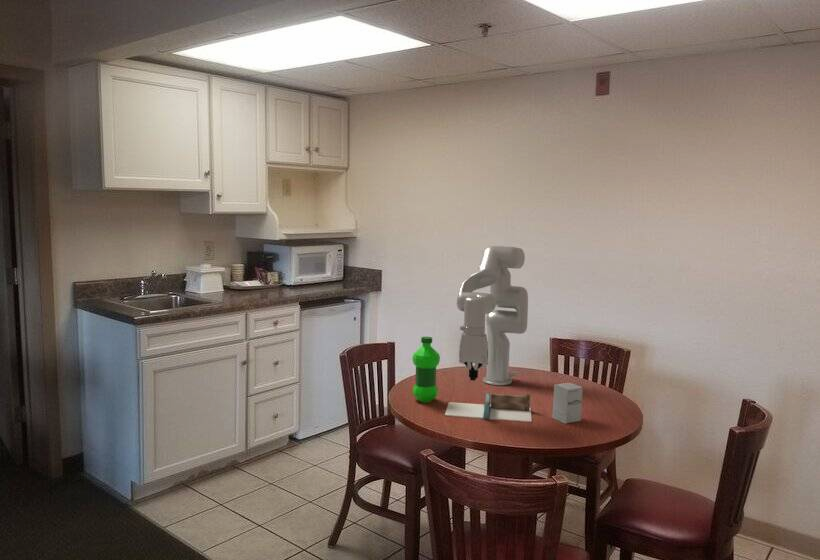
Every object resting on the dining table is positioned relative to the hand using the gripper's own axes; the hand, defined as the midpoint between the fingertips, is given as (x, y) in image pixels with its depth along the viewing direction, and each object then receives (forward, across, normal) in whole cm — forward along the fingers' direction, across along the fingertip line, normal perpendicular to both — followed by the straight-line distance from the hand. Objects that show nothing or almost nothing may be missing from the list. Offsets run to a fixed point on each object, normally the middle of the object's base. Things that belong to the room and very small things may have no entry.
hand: (473, 379), depth 224 cm
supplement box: (+13, +33, +6) cm, 36 cm away
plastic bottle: (+13, -21, +7) cm, 26 cm away
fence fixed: (+13, +12, +9) cm, 20 cm away
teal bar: (+12, +5, +1) cm, 13 cm away
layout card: (+13, +5, +3) cm, 14 cm away
